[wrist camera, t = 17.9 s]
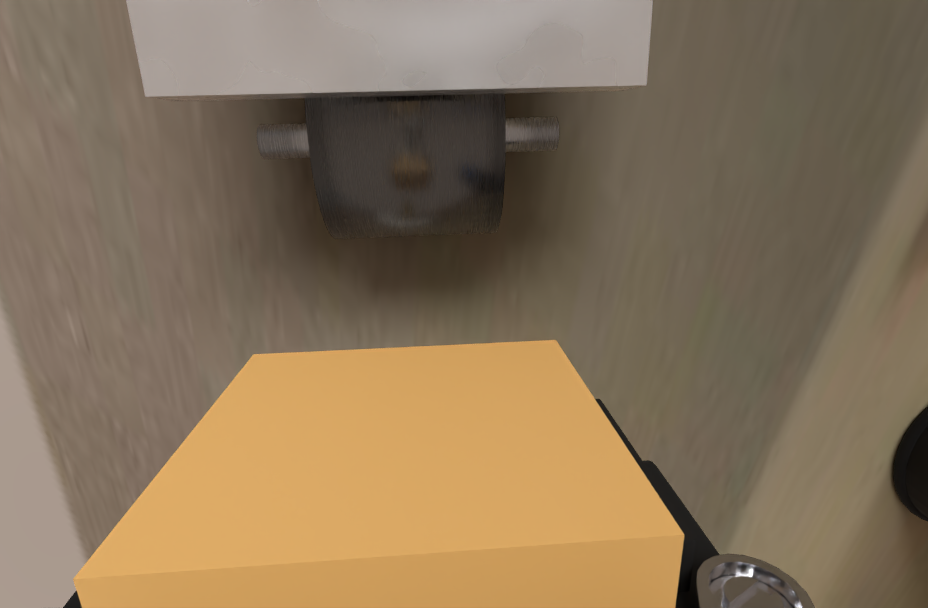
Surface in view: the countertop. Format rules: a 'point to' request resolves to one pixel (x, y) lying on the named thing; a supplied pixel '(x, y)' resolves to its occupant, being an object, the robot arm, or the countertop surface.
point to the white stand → (395, 90)
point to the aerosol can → (913, 467)
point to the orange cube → (396, 492)
